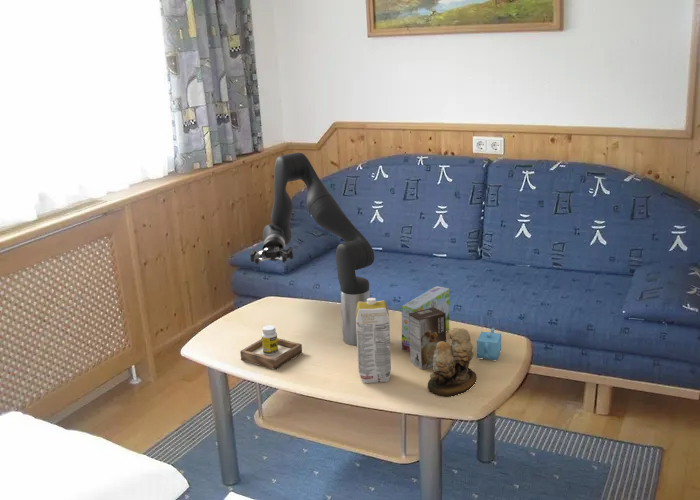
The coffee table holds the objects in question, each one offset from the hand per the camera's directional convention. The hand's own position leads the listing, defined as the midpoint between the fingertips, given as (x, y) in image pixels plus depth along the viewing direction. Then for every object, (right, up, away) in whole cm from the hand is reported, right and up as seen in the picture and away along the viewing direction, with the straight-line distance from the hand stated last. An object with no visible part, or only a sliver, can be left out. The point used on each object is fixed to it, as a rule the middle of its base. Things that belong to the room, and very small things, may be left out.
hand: (270, 260), depth 237 cm
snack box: (+51, -26, -4) cm, 57 cm away
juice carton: (+33, -34, -27) cm, 55 cm away
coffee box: (+50, -30, -20) cm, 61 cm away
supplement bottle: (+1, -29, -11) cm, 31 cm away
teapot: (+68, -29, -17) cm, 76 cm away
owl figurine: (+55, -34, -32) cm, 73 cm away
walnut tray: (+2, -30, -11) cm, 32 cm away
